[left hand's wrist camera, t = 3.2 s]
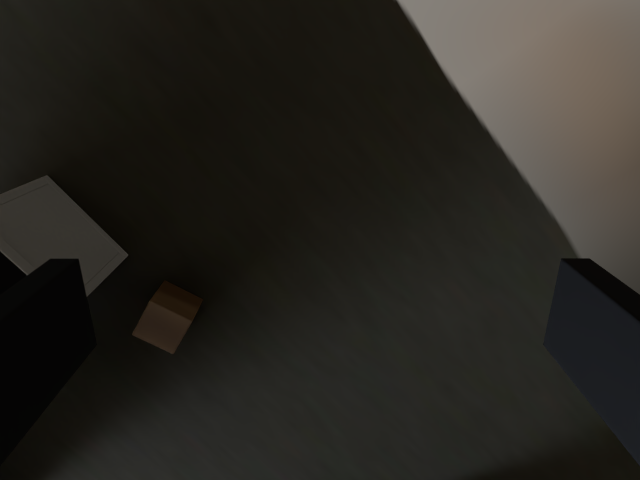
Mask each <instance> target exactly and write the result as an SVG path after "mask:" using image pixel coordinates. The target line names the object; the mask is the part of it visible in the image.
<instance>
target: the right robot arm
mask: <svg viewBox="0 0 640 480" xmlns="http://www.w3.org/2000/svg"><path fill="white" fill-rule="evenodd" d="M26 276H27V275H26V274H25V273H24V272H23V271H22V270H21V269H20V268H18V267H17V266H16V265H15V264H14V263H13V262H12V261H11V260H9V259H8V258H7V257H6V256H5V255H4V254H3V253H1V252H0V295H1V294H2V293H3V292H5V291H6V290H8V289H9V288H10V287H12V286H13V285H15V284H16V283H17V282H19V281H20V280H21V279H23V278H24V277H26Z"/></svg>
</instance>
